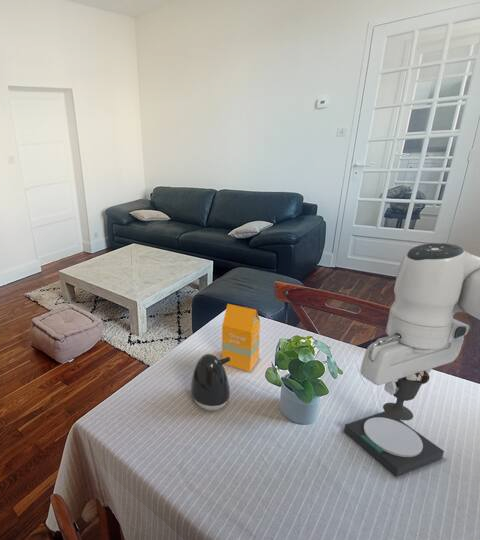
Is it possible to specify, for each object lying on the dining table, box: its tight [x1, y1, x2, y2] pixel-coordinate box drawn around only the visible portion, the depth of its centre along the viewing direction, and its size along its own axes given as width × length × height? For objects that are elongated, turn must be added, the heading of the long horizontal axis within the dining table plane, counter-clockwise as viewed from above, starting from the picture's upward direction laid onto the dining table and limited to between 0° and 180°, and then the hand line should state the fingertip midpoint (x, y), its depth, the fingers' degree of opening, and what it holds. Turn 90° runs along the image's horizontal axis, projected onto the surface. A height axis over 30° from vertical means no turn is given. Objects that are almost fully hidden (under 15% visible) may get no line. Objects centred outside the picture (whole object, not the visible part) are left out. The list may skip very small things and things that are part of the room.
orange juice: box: [221, 303, 261, 372], centre depth 103 cm, size 8×9×20 cm
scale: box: [343, 410, 445, 478], centre depth 73 cm, size 12×12×4 cm
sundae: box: [382, 371, 430, 421], centre depth 68 cm, size 7×7×15 cm
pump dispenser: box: [190, 353, 231, 412], centre depth 89 cm, size 10×10×15 cm
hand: (403, 387), depth 68 cm, fingers closed on sundae, 5 cm apart
